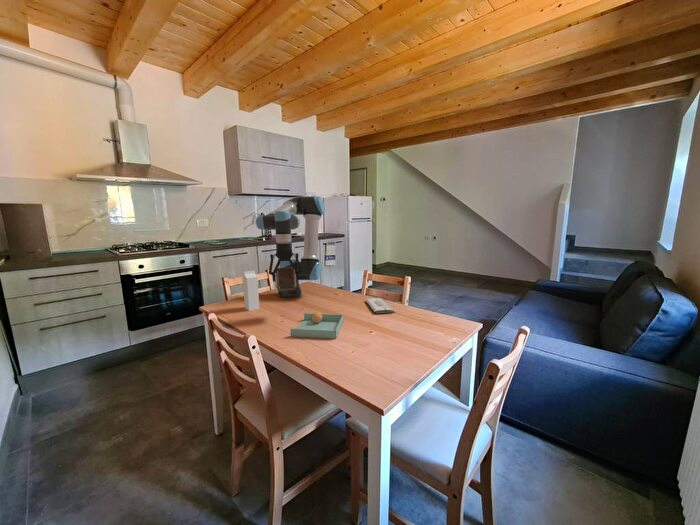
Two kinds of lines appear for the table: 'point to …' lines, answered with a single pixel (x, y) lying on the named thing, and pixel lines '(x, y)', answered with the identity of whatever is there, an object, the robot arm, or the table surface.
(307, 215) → the robot arm
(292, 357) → the table surface
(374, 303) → the newspaper
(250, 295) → the milk
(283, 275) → the sleeve
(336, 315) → the tray
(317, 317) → the ball
